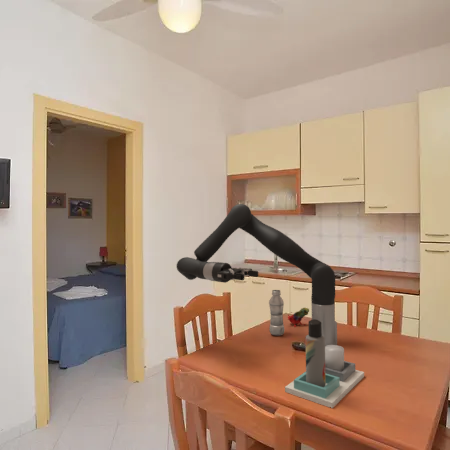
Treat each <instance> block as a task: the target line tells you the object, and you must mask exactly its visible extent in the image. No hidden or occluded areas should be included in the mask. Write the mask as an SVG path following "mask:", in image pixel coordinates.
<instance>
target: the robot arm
mask: <svg viewBox="0 0 450 450" xmlns="http://www.w3.org/2000/svg"><path fill="white" fill-rule="evenodd" d="M238 229H241V230H242V231H244V232H245V233H246V234H249V235H250V236H252V237H253V238H254V239H256V240H257V242H259V243H260V244H261V245H263V247H264V248H266V249H268V250H269V251H270V252H271V253H273V254H274V255H275V256H276V257H278V258H279V259H282V260H283V261H285V262H286V263H289V264H291V265H293V266H295V267H297V268H298V269H299V270H301V271H302V272H303V273H305V274H306V275H307V276H308V277H309V278H310V279H311V298H310V299H311V300H310V301H311V320H313V319H316V320H319V321H320V322H321V323H322V336H324V337H325V346H327V345H338V322H337V321H336V317H335V315H336V314H335V312H336V311H335V308H336V307H335V303H336V301H335V299H336V274H335V271H334V269H332V267H331V266H330V265H329V264H326V263H325V262H323V261H321V260H319V259H317V258H316V257H314V256H312V255H311V254H309V253H308V252H307V251H305V249H303V247H301V246H300V245H299V244H298V243H296V241H294V240H293V239H292V238H290V237H289V236H288V235H287V234H285V233H283V232H282V231H280V230H278V229H276V228H274V227H272V226H270V225H268V224H266V223H264V222H262V221H261V220H260V219H258V218H257V216H255V215H253V213H252V210H251V209H250V207H249V206H248V205H246V204H244V203H237V204H235V205H234V206H232V208H231V209H230V211H228V213H227V215H226V216H225V218H224V219H223V221H222V222H221V223H220V224H219V225H218V226H217V228H216V229H214V230H213V232H211V234H209V235H208V236H207V238H205V240H203V241H202V242H201V244H199V245H198V246H197V247H196V249H195V250H194V251H193V253H194V256H195V257H196V258H192V257H188V256H186V257H182V258H180V259H179V260H178V261H177V262H176V270H177V271H178V273H180V274H181V275H182V276H184V278H185V279H187V280H190V281H193V280H196V279H200V280H207V281H210V282H217V283H225V284H226V283H228V282H229V281H234V280H236V281H237V280H238V281H244V280H245V277H253V278H258V277H259V271H258V270H253V269H252V268H245V267H238V268H237V267H232V266H231V265H230V264H229V262H228V263H227V262H220V261H209V260H210V259H211V258H212V257H213V256H214V255H215V254H216V253H217V252H218V251H219V249H221V247H222V246H223V245H224V243H225V242H226V241H227V240H228V238H229V237H230V236H232V234H233V233H234V232H236V231H237V230H238Z"/></svg>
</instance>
